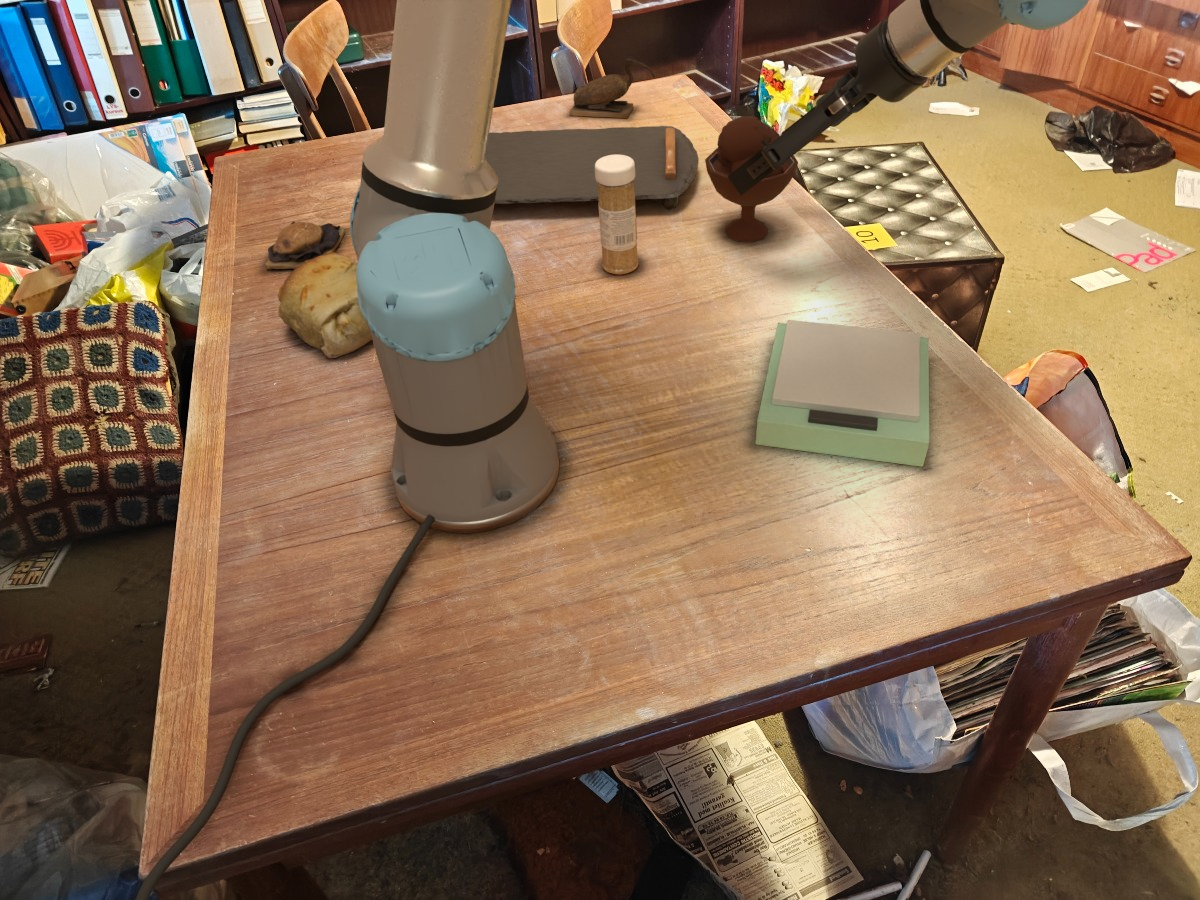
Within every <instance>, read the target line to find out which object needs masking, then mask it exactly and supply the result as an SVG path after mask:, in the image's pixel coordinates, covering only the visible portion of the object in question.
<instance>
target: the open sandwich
mask: <svg viewBox="0 0 1200 900" xmlns="http://www.w3.org/2000/svg"><path fill="white" fill-rule="evenodd" d="M345 234H346V229H345V228H341V225H338V226H337V225H333V224H332V223H331V222H328V223H325V224H321V225H319V224H315V223H312V222H308V221H307V222H306V221H302V222H301V221H298V222H295V221H292V222H290V224H289V225H286V226H284V227H283V228H282V230H281V231H280V232H279V234H278V236H277V239H276V241H275V243H274V244H272V245H270V246H269V247H268V248H267V253H268V259H267V261H266V262H265V269H266V270H272V269H275V270H280V269H281V270H287V269H289V270H290V269H292V270H295V269H296V268H297V267H298V266H300V265H301V264H302V263H303V262H304V261H306V260H310V259H314V258H316V257H317V256H322V255H325V254H326V253H328V252H336V249H337V248H338V246H339V244H341V243H342V242H341V241H342V240H343V238H344V237H345Z"/></svg>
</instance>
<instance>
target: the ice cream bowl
mask: <svg viewBox="0 0 1200 900" xmlns="http://www.w3.org/2000/svg"><path fill="white" fill-rule="evenodd" d="M779 136H781V134H779V133H778V132H777V131H776V130H775V129H774V128H772V127H771V126H770V125H769V124H766V123H765V122H764V121H762V120H760V119H759V117H757V116H753V115H747V116H746V115H745V116H744V115H743V116H739V117H737V118H734V119H731V120H730V121H727V123H726V124H725V125H724V126H723V127H722V128H721V132H720V133H719V134H718V138H717V147H716V148H715V149H714V150H713V151H712V152H711V153H710V154H708V156H707V157H706V158H705V159H704V162H705V168H706V172H707V174H708V177H709V179H710V181H711V183H712V185H713V187H714V190H715V191H716V193H718V194H719V196H721V197H722V198H723V199H725V200H727V201H729V202H731V203H733V204H735V205H738V206H740V209H741V210H740V217H739V218H736V219H734V220H731V221H730V222H729V223H728V224H727V225H726V227H725V229H724V232H725V233H726V236H727V238H729V239H731V240H734V241H736V242H739V243H755V242H757V241H761V240H765V238H766V237H767V235H768V234H769V233H770V232H769V227H768V226H767V224H766V222H764V221H762V220H760V219H758V218H756V207H757V206H760V205H764V204H767V203H769V202H771V201H773V200H774V199H775V198H777V197H778V196H779V195H781V194H782V193H783V191H784V190H785V189H786V188H787V187H788V185H789V184H790V182H791V181H792V179H793V177H794V176H795V175H796V170H797V167H798V165H799V160H797V158H796V156H795V154H794V155H793V156H792V157H791V158H789V159H788V160H787V161H785V162H784V164H783V165H781V167H780V168H779V169H776V170H774V171H773V172H772V173H770V174H769V175H768V176H767V177H765V178H764V179H763V180H761V181H760V182H759V183H757V184H756V185H755V186H753V187H752V188H751V189H749V190H748V191H747V192H746V193H744V194H743V195H742V196H741V195H740V193H739V192H738V191H737V189H736V188H735V186H734V185H733V184H732V182H731V181H730V180H729V178H728V177H727V176H729V175H730V174H731V173H732V172H734V171H735V170H736V169H737V168H739V167H740V166H741V165H742V164H744V163H745V162H746V161H747V160H749V159H750V158H751V157H752V156H754V155H755V154H756V153H757V152H758V151H760V150H761V149H762V148H763V146H762V145H761V142H762V141H763V140H764V139H766V141H767V142H768V143H772V142H773V141H774V140H776V139H777V138H778V137H779Z"/></svg>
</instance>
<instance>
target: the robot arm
mask: <svg viewBox="0 0 1200 900" xmlns="http://www.w3.org/2000/svg"><path fill="white" fill-rule="evenodd" d="M512 1H513V0H396V6H395V7H396V8H395V16H394V25H393V35H392V46H391V57H390V65H389V77H388V86H387V87H388V88H387V95H386V96H387V98H386V107H385V117H384V126H383V127H384V128H383V135H382V136H381V137H380V138H378V139H376V140H375V141H374V142H372V143H371V144H369V145H368V146H366V148H365V149H364V151H363V153H362V164H361V175H360V185H359V187H358V188H357V191H356V194H355V196H354V200H353V203H352V207H351V211H350V217H349V218H350V220H349V221H350V222H349V225H350V226H349V227H350V229H349V230H350V239H351V243H352V247H353V250H354V252H355V255H356V260H357V262H356V263H357V268H356V280H357V296H358V301H359V306H360V309H361V312H362V315H363V317H364V319H365V320H366V321H367V323H368V326H369V330H370V333H371V336H372V340H371V341H372V343H373V347H374V350H375V354H376V356H377V360H378V364H379V367H380V371H381V373H382V376H383V381H384V384H385V387H386V392H387V394H388V398H389V401H390V404H391V408H392V411H393V415H394V419H395V422H396V424H395V425H396V426H395V432H394V441H393V449H392V459H391V479H392V485H393V488H394V491H395V495H396V498H397V500H398V503H399V504H400V506H401V507H402V509H403V510H404V511H405V513H407V515H409V516H410V517H411V518H412V519H413V520H415V521H417V522H418V523H420V524H421V525H420V526H419V528H418V530H417V531H416V532H415V534H414V536H413V537H412V539H411V541H410V542H409V543H408V545H407V547H406V548H405V550H404V551H403V553H402V554H401V556H400V558H399V559H398V561H397V563H396V564H395V566H394V567H393V568H392V570H391V572H390V574H389V575H388V576H387V579H386V581H385V582H384V584H383V586H382V588H381V589H380V592H379V593H378V595H377V597H376V599H375V600H374V603H373V605H372V607H371V609H370V610H369V612H368V613H367V615H366V617H365V618H364V620H363V621H362V623H361V624H360V625H359V627H358V628H357V629H356V630H355V631H354V633H352V635H351V636H350V637H349V638H348V639H347V640H346V641H345V642H344V643H343V644H342V645H340V646H339V647H338V648H337V649H335V650H334V651H333V652H332V653H330V654H329V655H327V656H326V657H324V658H323V659H321V660H319V661H318V662H315V663H313V664H312V665H310V666H308V667H306V668H304V669H303V670H301V671H299V672H297V673H296V674H293V675H292V676H290V677H288V678H287V679H285V680H284V681H282V682H280V683H279V684H278V685H276V686H275V687H273V688H272V689H271V690H270V691H268V693H266V694H265V695H264V696H263V697H262V698H260V700H259V701H257V703H256V704H255V705H254V706H253V707H252V708H251V710H250V711H249V712H248V713H247V715H246V717H244V719H243V720H242V722H241V724H240V725H239V727H238V729H237V731H236V733H235V735H234V737H233V738H232V741H231V744H230V746H229V749H228V751H227V754H226V757H225V759H224V762H223V764H222V766H221V767H222V768H221V770H220V773H219V776H218V778H217V781H216V782H215V785H214V787H213V789H212V791H211V793H210V795H209V797H208V799H207V801H206V802H205V804H204V806H203V808H202V809H201V811H200V812H199V814H198V815H197V816H196V817H195V819H194V820H193V822H192V823H191V824H190V825H189V826H188V828H187V829H186V830H185V831H184V832H183V833H182V834H181V836H179V838H177V840H176V841H175V842H173V844H172V845H171V846H170V847H169V849H168V850H166V851H165V853H164V854H163V855H162V856H161V858H160V859H159V860H158V861H157V862H156V863H155V864H154V866H153V867H152V869H151V870H150V872H148V874H147V876H146V878H145V879H144V880H143V882H142V885H141V886H140V888H139V890H138V893H137V894H136V898H135V900H150V897H151V895H152V893H153V892H154V889H155V887H156V886H157V884H158V882H159V881H160V879H161V878H162V877H163V875H164V874H165V872H166V871H167V870H168V869H169V867H170V866H171V865H172V864H173V863H174V861H176V859H177V858H178V857H179V856H180V855H181V853H182V852H184V851H185V850H186V848H187V847H188V846H189V845H190V844H191V843H192V842H193V840H194V839H195V838H196V837H197V836H198V834H199V833H200V832H201V831H202V829H204V827H205V826H206V824H207V823H208V822H209V820H210V819H211V817H212V816H213V814H214V813H215V811H216V809H217V807H218V806H219V805H220V803H221V801H222V798H223V796H224V794H225V792H226V790H227V788H228V785H229V783H230V781H231V778H232V775H233V772H234V770H235V767H236V764H237V761H238V758H239V756H240V753H241V750H242V747H243V745H244V743H245V740H246V739H247V737H248V735H249V734H250V733H249V732H250V731H251V729H252V727H253V726H254V724H255V723H256V721H257V720H258V719H259V717H260V716H261V715H262V714H263V712H264V711H266V709H267V708H268V707H270V705H271V704H272V703H273V702H274V701H275V700H277V699H278V698H279V697H281V696H283V694H284V693H286V692H288V691H289V690H291V689H292V688H294V687H296V686H297V685H299V684H301V683H302V682H304V681H307V680H308V679H310V678H312V677H314V676H315V675H317V674H320V673H321V672H323V671H324V670H326V669H328V668H329V667H331V666H333V665H334V664H335V663H337V662H339V661H340V660H341V659H343V658H344V657H346V655H347V654H348V653H350V652H351V651H352V650H353V649H354V648H355V647H356V646H357V645H358V643H359V642H360V641H361V640H362V639H363V638H364V637H365V635H366V634H368V631H369V630H370V629H371V628H372V626H373V624H374V623H375V622H376V620H377V619H378V617H379V615H380V613H381V611H382V610H383V607H384V606H385V604H386V602H387V600H388V598H389V596H390V594H391V592H392V590H393V588H394V587H395V585H396V583H397V581H398V579H399V578H400V576H401V575H402V574H403V572H404V570H405V569H406V567H407V565H408V564H409V562H410V560H411V559H412V557H413V555H414V554H415V553H416V550H417V549H418V548H419V546H420V544H421V543H422V541H423V539H424V538H425V536H426V535H427V533H428V532H429V530H430V529H431V528H432V529H435V530H438V531H442V532H448V533H460V534H461V533H467V534H468V533H479V532H484V531H486V532H487V531H491V530H494V529H499V528H501V527H504V526H507V525H509V524H512V523H513V522H516V521H518V520H520V519H522V518H523V517H525V516H527V515H528V514H530V513H531V512H533V511H534V510H535V509H536V508H537V507H539V506H540V505H541V504H542V503H543V502H544V501H545V500H546V499H547V497H548V496H549V495H550V493H551V492H552V490H553V489H554V487H555V484H556V482H557V479H558V477H559V471H560V462H559V461H560V460H559V453H558V452H559V451H558V448H557V447H558V446H557V443H556V441H555V438H554V434H553V432H552V431H551V429H550V427H549V426H548V424H547V423H546V421H545V419H544V418H543V416H542V414H541V413H540V410H539V409H538V407H537V406H536V404H535V402H534V400H533V399H532V397H531V396H530V392H529V386H528V378H527V371H526V364H525V358H524V353H523V352H524V351H523V346H522V345H523V344H522V339H521V332H520V324H519V319H518V313H517V311H518V310H517V305H516V281H515V275H514V271H513V267H512V265H511V262H510V261H509V258H508V255H507V252H506V249H505V247H504V245H503V243H502V241H501V240H500V238H499V237H498V236H497V235H496V233H494V231H492V230H491V226H492V219H493V214H494V208H495V204H494V203H495V197H496V192H497V186H498V176H497V174H496V172H495V171H494V169H493V168H492V167H491V165H490V164H489V163H488V161H487V160H486V157H485V153H486V147H487V141H488V136H489V133H490V130H491V123H492V117H493V113H494V105H495V99H496V95H497V88H498V83H499V77H500V71H501V65H502V60H503V59H502V58H503V53H504V49H505V48H504V47H505V43H506V37H507V36H506V35H507V29H508V24H509V20H510V19H509V18H510V14H511V13H510V12H511V6H512ZM1089 1H1090V0H904V1H903V2H902V3H900V4H899V5H898V6H897V7H896V8H895V9H894V10H893V11H892V12H890V13H889V15H888V17H887V18H884V19H883V20H881V21H880V22H879V23H878V24H877V25H876V26H874V27H873V28H872V29H871V30H869V31H868V32H867V33H866V34H865V35H863V36H861V38H860V39H859V40H858V41H857V43H856V47H855V52H854V59H855V64H856V65H855V66H854V67H852V68H851V69H850V70H849V71H848V72H846V73H845V74H844V75H842V76H841V77H840V78H839V79H838V80H836V82H835V84H834V85H833V87H831V88H830V89H829V90H827V92H825V93H824V94H823V95H821V96H820V97H819V98H818V99H817V100H816V102H815V105H814V107H812V108H811V109H809V110H808V111H807V112H806V113H805V114H803V115H801V117H800V118H799V119H797V120H796V121H795V122H793V123H792V124H791V125H790V126H789V127H787V128H786V129H784V131H783V132H781V134H780V136H779V137H778V138H777V139H776V140H774V141H773V142H772V143H768V142H767V141H766V139H764V140H763V141H762V142H761V145H762V146H763V148H762V149H761V150H760V151H758V152H757V153H756V154H755V155H754V156H752V157H751V158H750V159H749V160H747V161H746V162H745V163H744V164H742V165H741V166H740V167H739V168H737V169H736V170H735V171H734V172H732V173H731V174H730V175H729V176H727V177H728V178H729V180H730V181H731V182H732V184H733V185H734V186H735V188H736V189H737V191H738V192H739V193H740V195H741V196H742V195H743V194H744V193H746V192H747V191H748V190H749V189H751V188H752V187H753V186H755V185H756V184H757V183H759V182H760V181H761V180H763V179H764V178H765V177H767V176H768V175H769V174H770V173H772V172H773V171H774V170H776V169H779V168H780V167H781V165H783V164H784V162H785V161H787V160H788V159H789V158H791V157H792V156H793V155H794V156H795V155H797V153H798V152H800V151H801V150H802V149H803V148H805V147H806V146H807V145H809V144H810V143H811V142H812V141H814V140H815V139H816V138H817V137H819V136H820V135H821V134H823V133H824V132H825V131H827V129H829V128H830V127H832V128H835V127H837V126H839V125H840V124H841V123H843V122H844V121H846V120H847V119H848V118H849V117H850V116H852V115H853V114H856V113H859V112H860V111H862V110H863V109H864V108H866V107H867V106H868V105H869V104H870V103H871V102H872V101H873V100H875V99H876V98H877V97H879V98H880V99H881V100H882V101H885V102H888V103H898V102H902V101H903V100H904V99H906V98H907V97H908V96H910V95H911V94H912V93H914V92H915V91H916V90H918V89H919V88H920V87H922V86H923V85H924V84H926V83H927V81H928V80H929V78H933V77H935V76H936V75H937V74H938V73H940V72H942V71H943V70H944V69H946V68H947V67H948V65H949V66H950V67H951V68H952V69H957V68H959V67H960V65H961V64H962V60H961V58H960V57H963V55H965V53H967V52H969V51H971V50H972V49H973V48H975V47H976V46H977V45H978V44H980V43H982V42H983V41H984V40H986V39H987V38H989V37H990V36H991V35H993V34H995V32H997V31H998V30H1000V29H1001V28H1003V27H1004V26H1005V25H1007V24H1010V25H1012V26H1017V25H1019V26H1022V27H1024V28H1028V29H1030V30H1035V31H1046V30H1051V29H1054V28H1057V27H1060V26H1061V25H1064V24H1065V23H1068V22H1070V20H1072V19H1073V18H1075V16H1077V15H1078V14H1079V13H1081V11H1082V10H1083V9H1084V8H1085V7H1086V6H1087V5H1088V3H1089Z"/></svg>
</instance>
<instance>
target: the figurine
mask: <svg viewBox="0 0 1200 900" xmlns="http://www.w3.org/2000/svg"><path fill="white" fill-rule="evenodd" d="M635 66H636V67H642V68H645V69H647V70H648V71H649V72H650V73H651V76H652V77H653V79H655V78H656V76H655V74H654V72H653V70H652V68H650V67H649V65H647V64H645V63H644V62H641V61H639V60H635V59H634V58H632V57H628V58H626V59H625V61H624V70H625V72H626V73H627V76H628V79H627V78H625V77H624V76H622V74H621V75H620V74H616V73H611V74H606V75H604V76H600V77H598V78H595V79H593V80H591V81H588V82H586V83H585V84H583V85H581V86H580V87H578V88H577V89H576V90H575V91H574V94H573V106H572V107H571V108H570V109H569V116H572V117H575V116H576V117H595V118H613V119H614V118H615V119H616V118H617V119H628V118H629V116H630V115H631V113H632V111H633V109H634V103H631V102H628V101H627V100H619V99H621V98H623V97H624V96H626V94H627V93H628V91H629V89H630V87H631V86H632V85H633V83H634V76H633V73H632V72H631V69H630V67H635Z"/></svg>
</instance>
